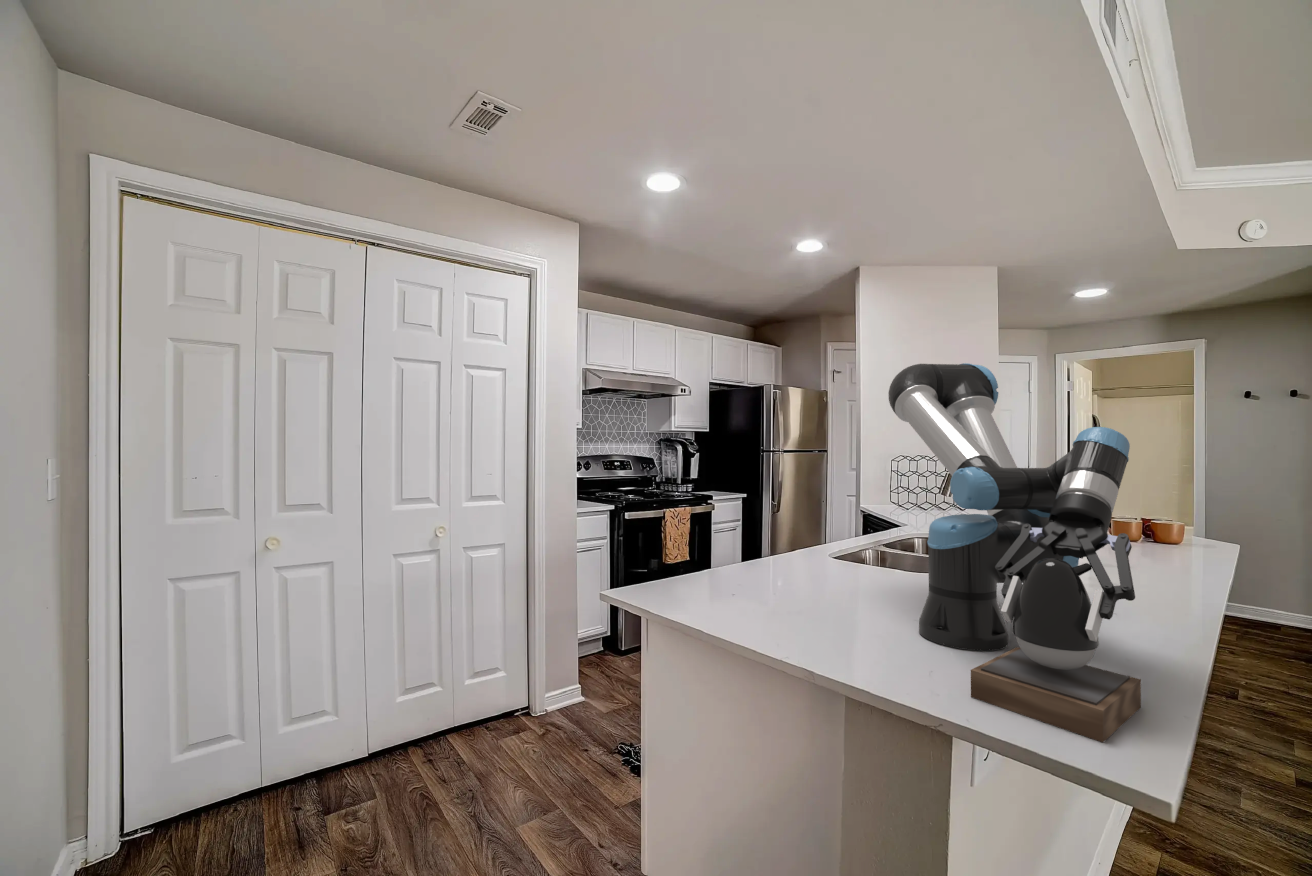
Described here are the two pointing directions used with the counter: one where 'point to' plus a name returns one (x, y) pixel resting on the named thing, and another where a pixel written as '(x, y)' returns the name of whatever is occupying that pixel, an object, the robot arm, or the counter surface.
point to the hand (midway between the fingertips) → (1046, 625)
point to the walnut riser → (1058, 693)
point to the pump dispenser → (1054, 615)
